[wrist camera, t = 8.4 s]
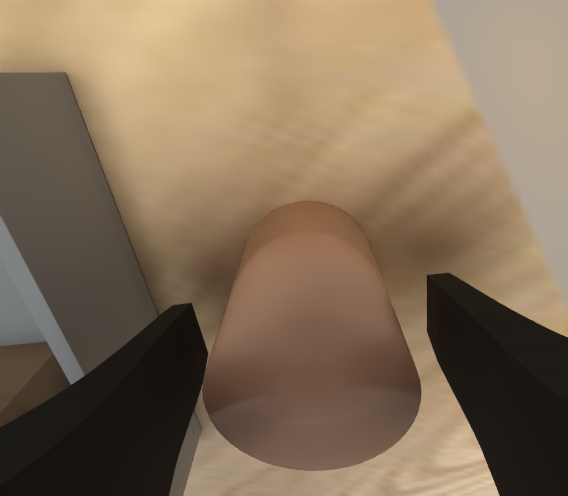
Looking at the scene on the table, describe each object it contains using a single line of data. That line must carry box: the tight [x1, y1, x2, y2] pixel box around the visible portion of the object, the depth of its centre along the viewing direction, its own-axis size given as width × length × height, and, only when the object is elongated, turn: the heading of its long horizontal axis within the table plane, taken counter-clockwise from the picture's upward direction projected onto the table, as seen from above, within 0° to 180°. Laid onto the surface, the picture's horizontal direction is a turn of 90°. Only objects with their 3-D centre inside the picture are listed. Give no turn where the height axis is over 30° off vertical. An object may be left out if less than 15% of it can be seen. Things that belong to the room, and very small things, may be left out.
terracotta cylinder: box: [202, 201, 421, 471], centre depth 12 cm, size 5×5×7 cm
